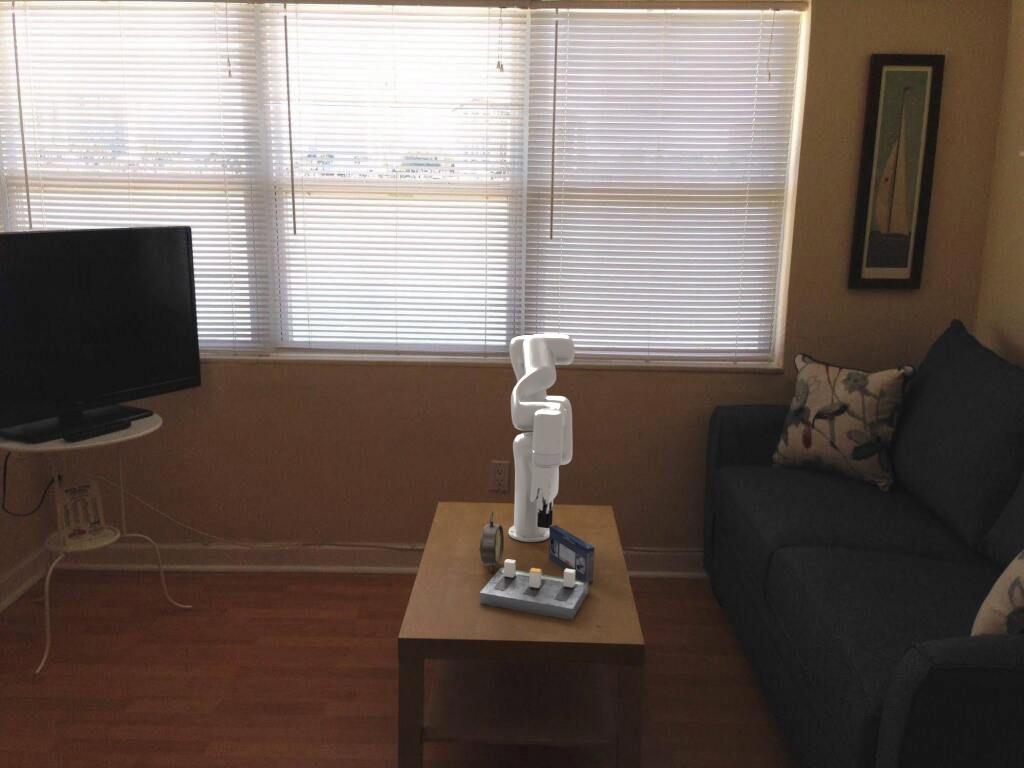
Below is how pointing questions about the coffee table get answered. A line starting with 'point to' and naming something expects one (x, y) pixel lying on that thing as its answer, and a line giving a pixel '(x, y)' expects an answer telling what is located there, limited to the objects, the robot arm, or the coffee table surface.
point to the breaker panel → (534, 594)
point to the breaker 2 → (569, 578)
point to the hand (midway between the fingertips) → (544, 525)
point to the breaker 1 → (509, 568)
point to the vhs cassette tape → (571, 553)
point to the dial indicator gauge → (491, 544)
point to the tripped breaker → (535, 578)
